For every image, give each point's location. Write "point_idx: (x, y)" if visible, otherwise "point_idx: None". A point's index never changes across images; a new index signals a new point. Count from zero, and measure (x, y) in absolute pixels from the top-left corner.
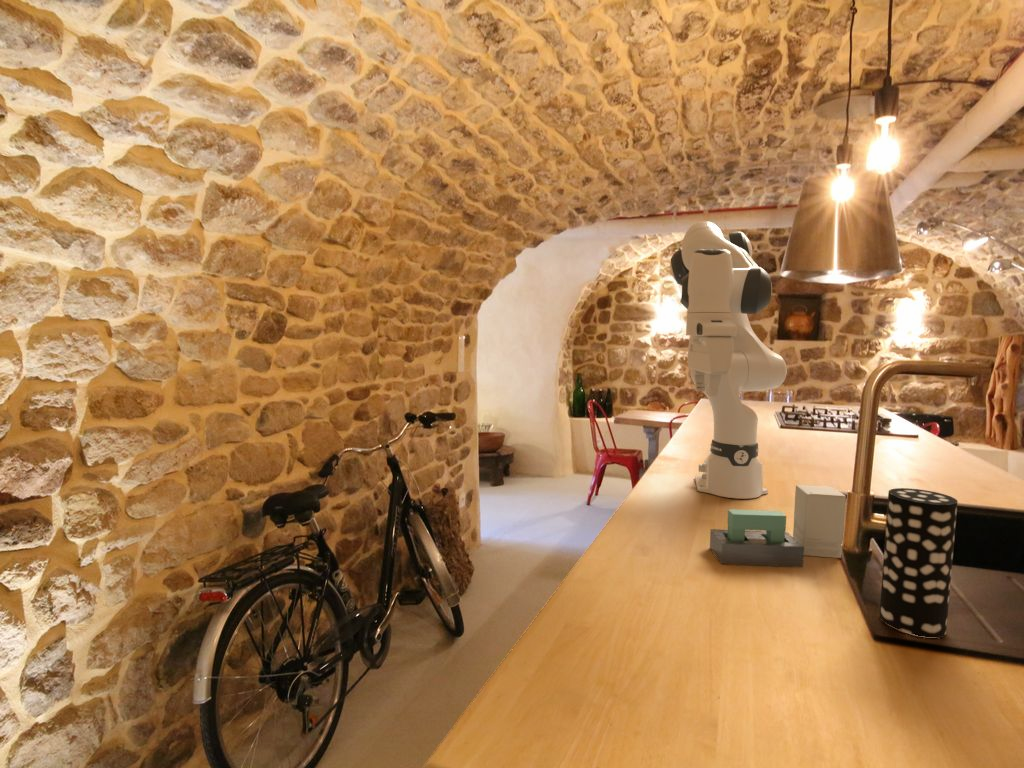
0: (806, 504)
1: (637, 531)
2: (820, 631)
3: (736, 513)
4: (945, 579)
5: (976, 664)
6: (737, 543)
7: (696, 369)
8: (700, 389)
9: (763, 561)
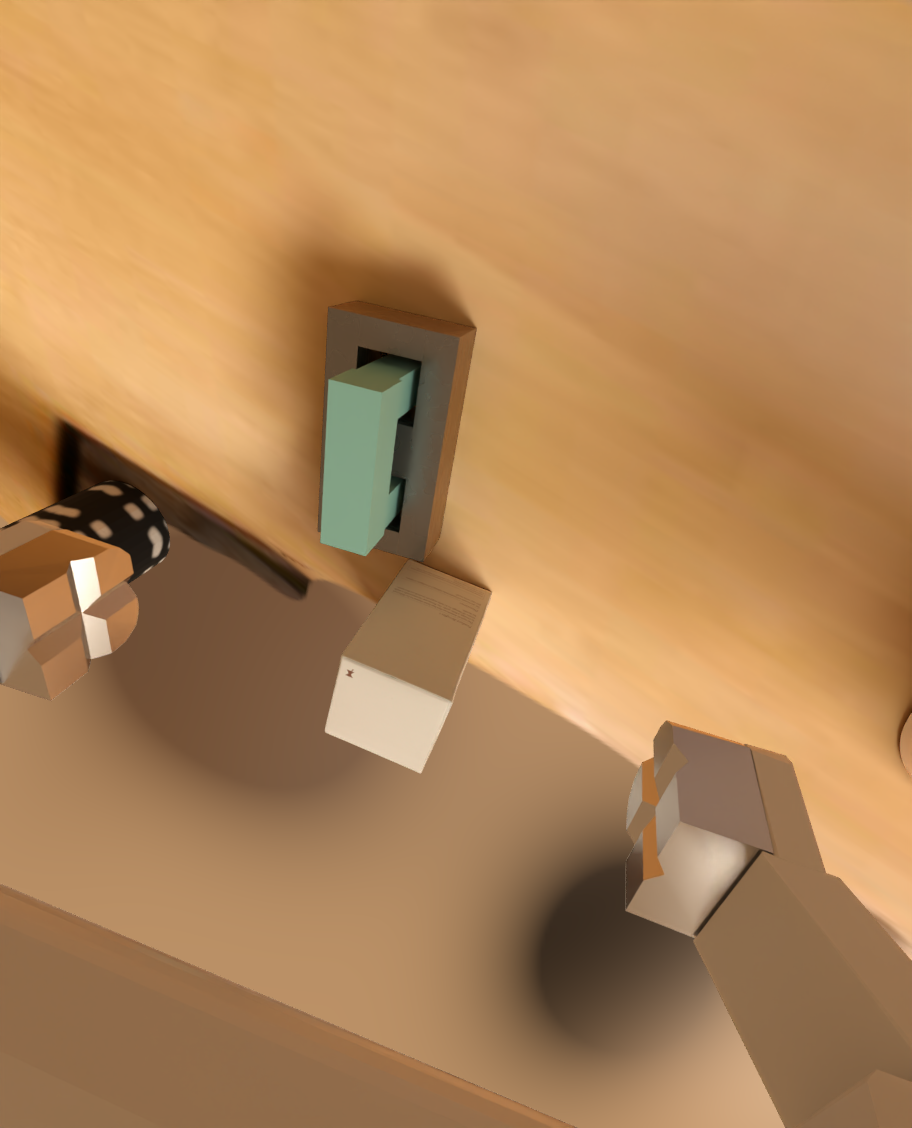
0: (355, 635)
1: (697, 73)
2: (65, 342)
3: (337, 397)
4: None
5: None
6: (333, 361)
7: (308, 1060)
8: (655, 774)
9: None
